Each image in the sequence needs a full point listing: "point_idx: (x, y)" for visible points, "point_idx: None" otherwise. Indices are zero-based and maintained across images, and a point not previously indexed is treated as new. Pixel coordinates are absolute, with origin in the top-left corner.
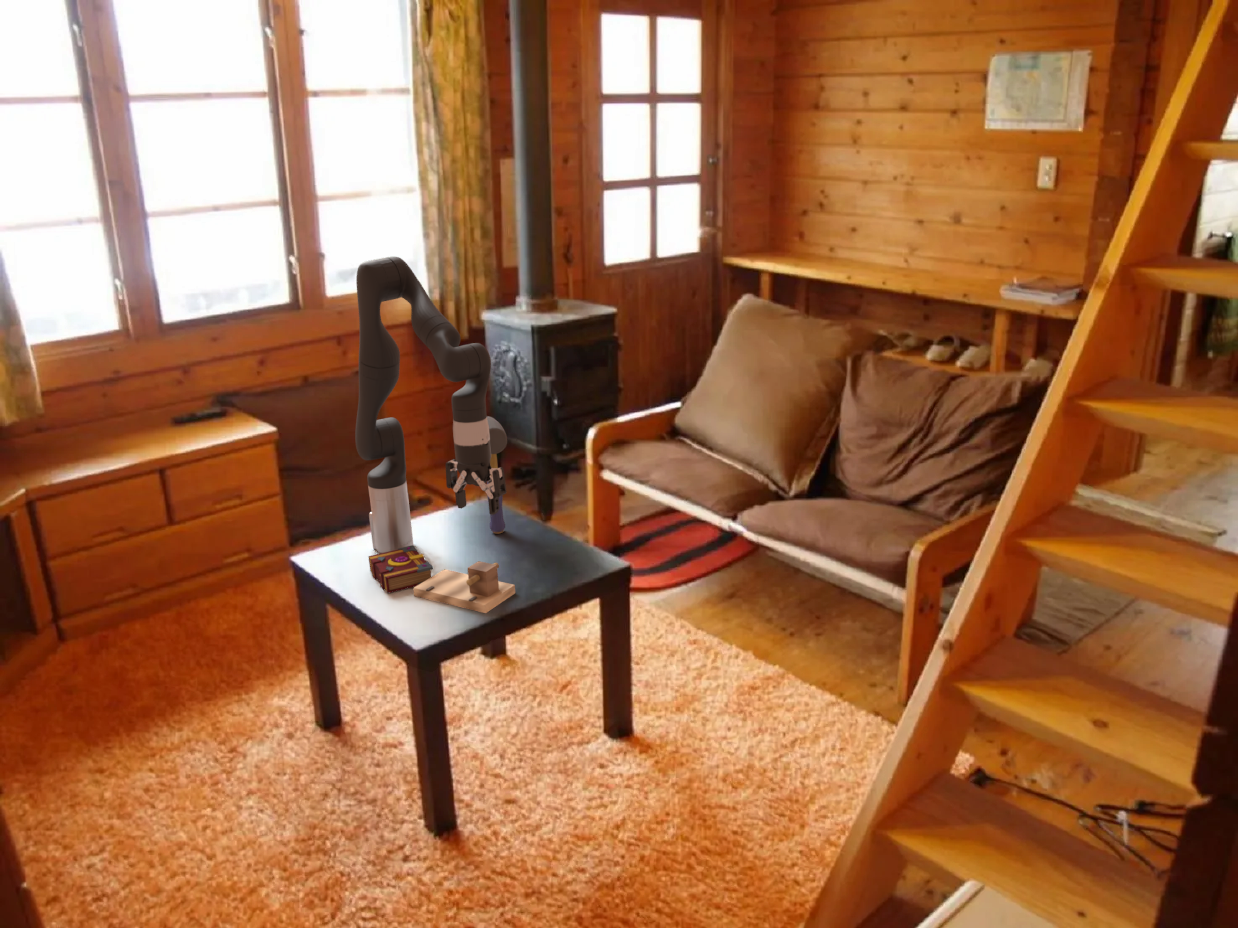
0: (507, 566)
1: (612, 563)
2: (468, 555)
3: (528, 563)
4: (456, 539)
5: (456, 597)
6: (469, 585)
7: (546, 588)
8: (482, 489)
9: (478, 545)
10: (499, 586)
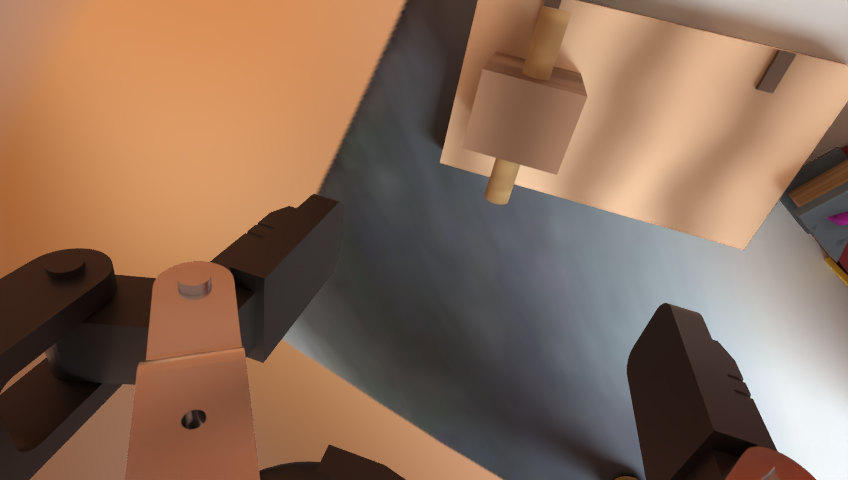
0: (535, 312)
1: None
2: None
3: (481, 330)
4: None
5: (626, 18)
6: (554, 8)
7: (370, 194)
8: (234, 355)
9: None
10: None
